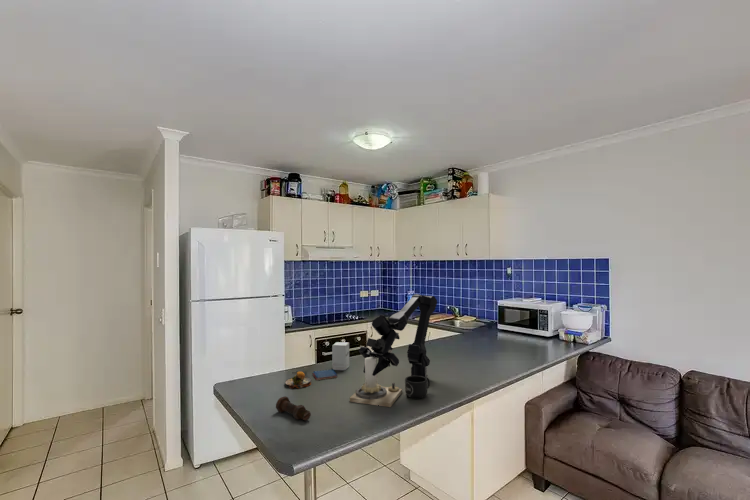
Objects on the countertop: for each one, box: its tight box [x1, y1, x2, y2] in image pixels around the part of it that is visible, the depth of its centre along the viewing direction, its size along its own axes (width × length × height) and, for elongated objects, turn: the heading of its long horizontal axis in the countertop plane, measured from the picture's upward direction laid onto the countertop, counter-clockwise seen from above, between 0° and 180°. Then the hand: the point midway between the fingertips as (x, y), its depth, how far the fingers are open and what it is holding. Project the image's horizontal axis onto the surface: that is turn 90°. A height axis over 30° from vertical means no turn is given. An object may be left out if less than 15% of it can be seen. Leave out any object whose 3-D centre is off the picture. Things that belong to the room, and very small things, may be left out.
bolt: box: [275, 396, 312, 421], centre depth 131 cm, size 6×5×15 cm
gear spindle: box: [361, 357, 382, 393], centre depth 147 cm, size 8×8×12 cm
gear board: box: [349, 382, 403, 408], centre depth 148 cm, size 17×16×4 cm
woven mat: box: [312, 368, 338, 381], centre depth 175 cm, size 10×11×2 cm
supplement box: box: [331, 341, 350, 371], centre depth 187 cm, size 7×7×13 cm
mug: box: [404, 375, 431, 400], centre depth 149 cm, size 12×9×7 cm
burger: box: [284, 369, 312, 390], centre depth 164 cm, size 12×12×8 cm
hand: (368, 374), depth 147 cm, fingers closed on gear spindle, 5 cm apart
